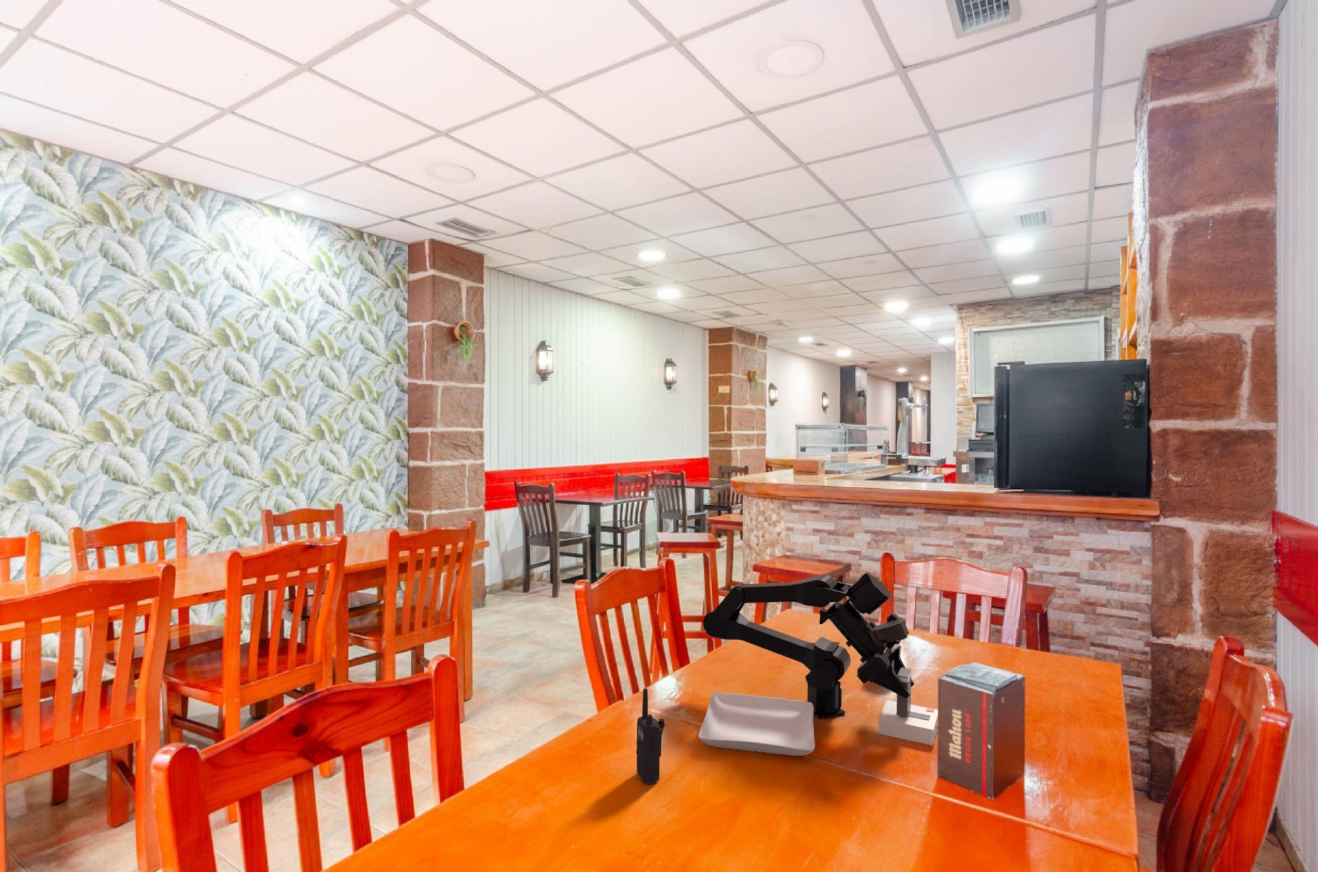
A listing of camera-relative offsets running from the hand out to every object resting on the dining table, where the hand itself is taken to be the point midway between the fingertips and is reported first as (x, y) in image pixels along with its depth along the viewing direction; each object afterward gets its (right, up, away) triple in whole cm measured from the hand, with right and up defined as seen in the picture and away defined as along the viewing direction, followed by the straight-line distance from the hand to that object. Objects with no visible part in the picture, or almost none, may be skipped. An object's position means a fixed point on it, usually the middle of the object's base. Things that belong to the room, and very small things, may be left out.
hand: (910, 691), depth 133 cm
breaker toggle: (-1, -4, +1) cm, 4 cm away
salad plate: (-30, -8, -2) cm, 32 cm away
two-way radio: (-51, -8, -19) cm, 55 cm away
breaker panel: (0, -8, 0) cm, 8 cm away
